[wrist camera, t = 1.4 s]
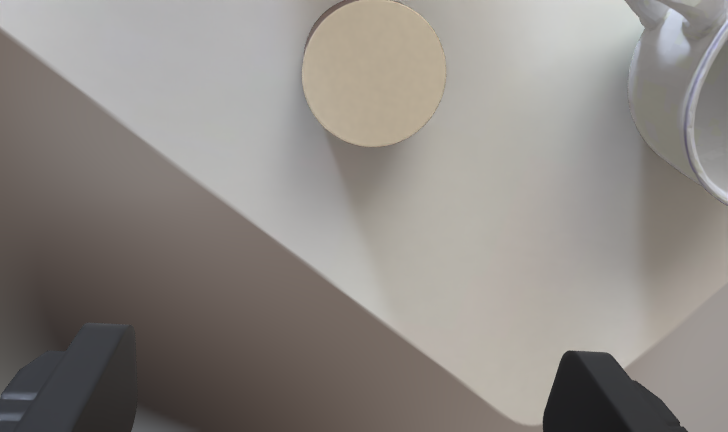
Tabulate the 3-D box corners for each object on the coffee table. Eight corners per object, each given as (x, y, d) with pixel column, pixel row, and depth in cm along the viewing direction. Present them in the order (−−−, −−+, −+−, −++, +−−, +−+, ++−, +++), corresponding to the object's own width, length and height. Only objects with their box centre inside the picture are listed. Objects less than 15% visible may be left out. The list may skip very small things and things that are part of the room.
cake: (308, -12, 26) (308, -11, 21) (433, 5, 27) (458, 9, 22) (299, 115, 28) (296, 140, 23) (414, 126, 29) (433, 153, 24)
